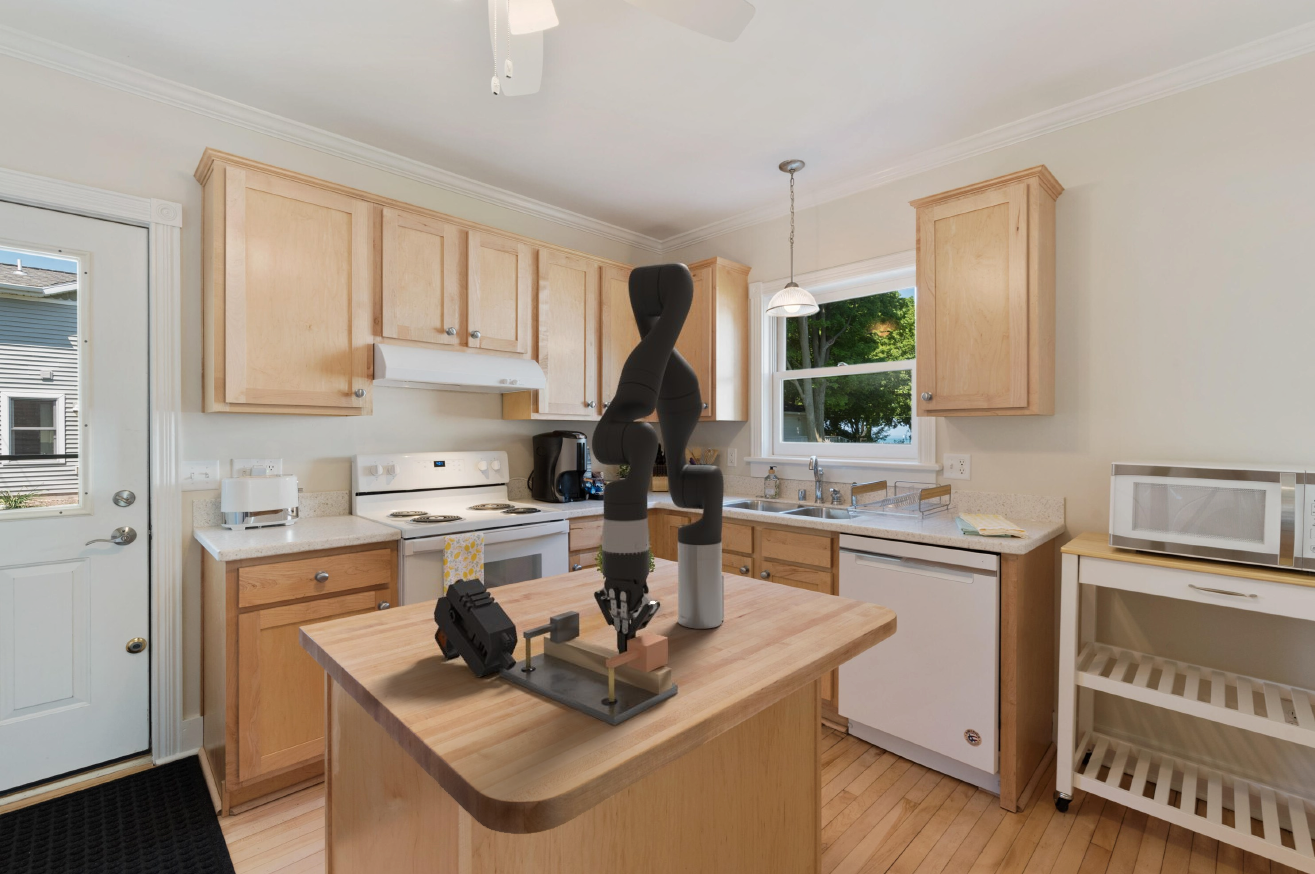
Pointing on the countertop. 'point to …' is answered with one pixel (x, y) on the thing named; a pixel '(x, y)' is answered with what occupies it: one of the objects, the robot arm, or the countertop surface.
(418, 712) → the countertop surface
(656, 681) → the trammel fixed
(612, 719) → the hole plate
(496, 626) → the tool
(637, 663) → the slider leg
